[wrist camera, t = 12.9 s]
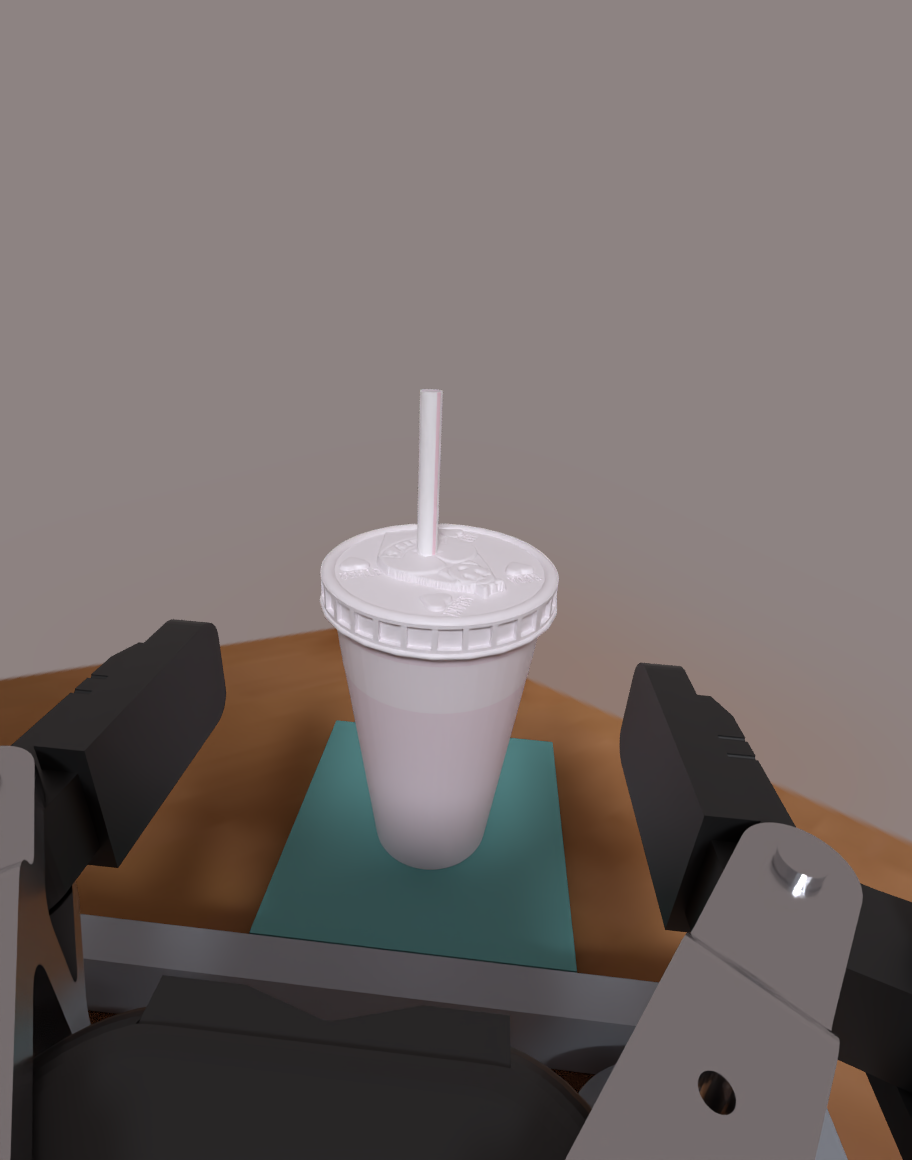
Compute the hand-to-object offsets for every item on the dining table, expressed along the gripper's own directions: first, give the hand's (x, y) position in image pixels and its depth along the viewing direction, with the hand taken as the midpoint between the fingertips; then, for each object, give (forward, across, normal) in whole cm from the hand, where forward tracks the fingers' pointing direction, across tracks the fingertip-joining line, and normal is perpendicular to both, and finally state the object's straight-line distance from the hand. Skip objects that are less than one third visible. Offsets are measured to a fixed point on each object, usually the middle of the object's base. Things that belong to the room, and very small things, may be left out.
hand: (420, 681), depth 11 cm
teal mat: (+5, 0, +10) cm, 11 cm away
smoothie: (+5, 0, +10) cm, 11 cm away
